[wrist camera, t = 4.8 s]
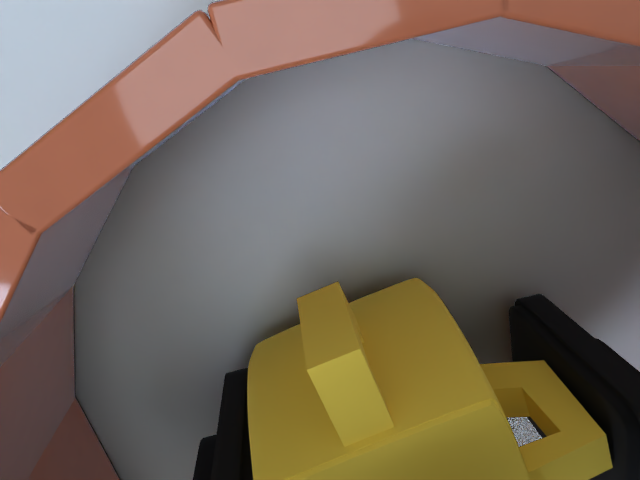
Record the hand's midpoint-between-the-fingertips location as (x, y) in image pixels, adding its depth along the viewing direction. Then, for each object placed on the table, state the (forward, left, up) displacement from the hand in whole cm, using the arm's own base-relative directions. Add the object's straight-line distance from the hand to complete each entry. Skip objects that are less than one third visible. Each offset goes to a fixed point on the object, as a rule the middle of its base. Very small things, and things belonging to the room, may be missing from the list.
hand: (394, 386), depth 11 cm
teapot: (0, 0, -1) cm, 1 cm away
